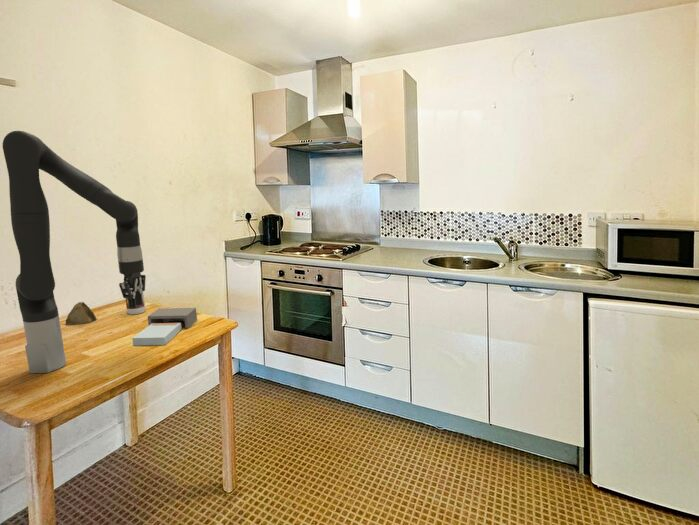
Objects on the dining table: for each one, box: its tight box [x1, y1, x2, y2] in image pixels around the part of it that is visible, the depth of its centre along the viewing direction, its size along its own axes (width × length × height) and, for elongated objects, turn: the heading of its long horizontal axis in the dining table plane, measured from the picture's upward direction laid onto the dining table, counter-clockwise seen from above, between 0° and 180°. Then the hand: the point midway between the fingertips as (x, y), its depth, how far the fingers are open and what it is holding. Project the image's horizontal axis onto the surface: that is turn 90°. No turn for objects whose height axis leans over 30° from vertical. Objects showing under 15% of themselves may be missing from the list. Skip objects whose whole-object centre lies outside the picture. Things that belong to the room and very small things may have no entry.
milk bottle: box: [124, 288, 146, 315], centre depth 186 cm, size 8×8×20 cm
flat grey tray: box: [131, 322, 182, 347], centre depth 156 cm, size 16×12×3 cm
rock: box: [65, 301, 98, 325], centre depth 174 cm, size 11×9×10 cm
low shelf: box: [147, 307, 198, 329], centre depth 170 cm, size 11×16×6 cm, turn 92°
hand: (136, 306), depth 139 cm, fingers open, 4 cm apart
